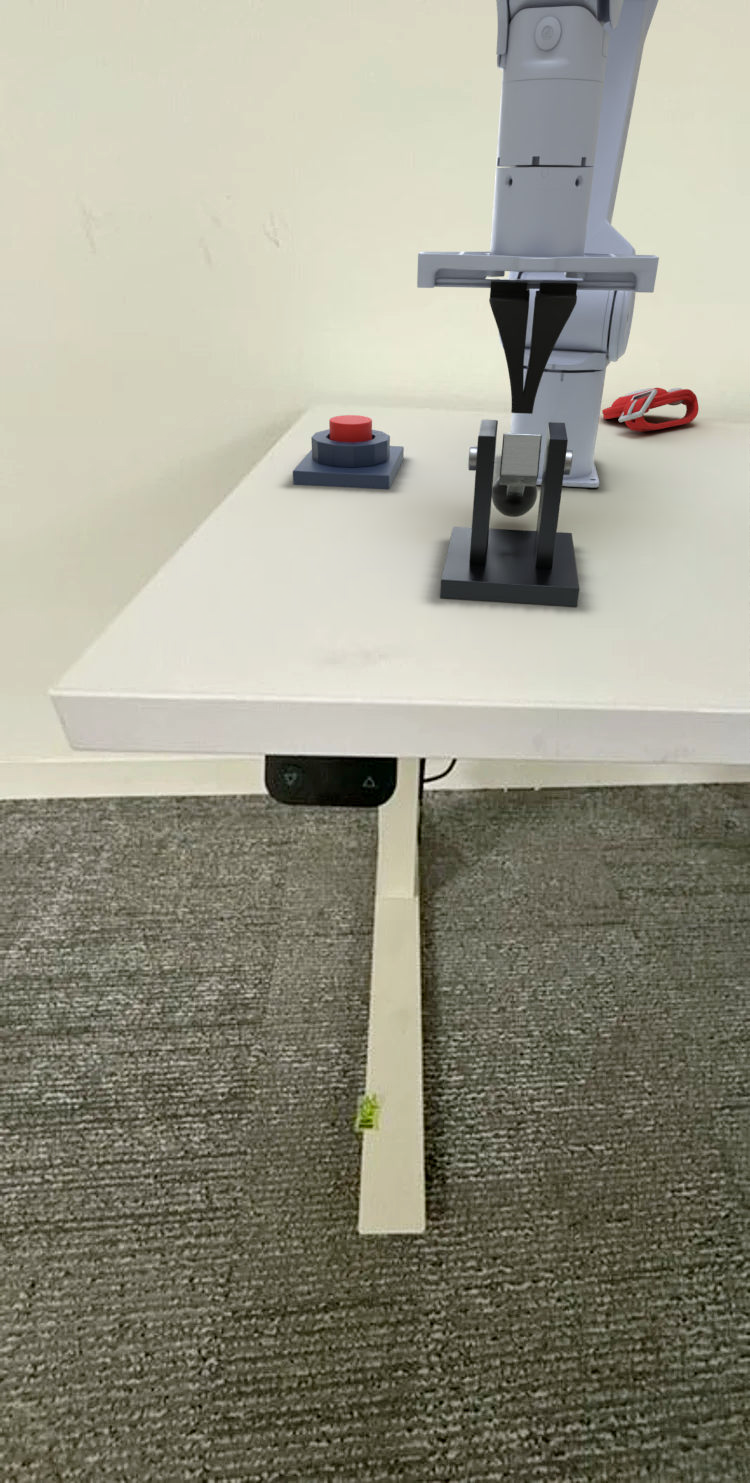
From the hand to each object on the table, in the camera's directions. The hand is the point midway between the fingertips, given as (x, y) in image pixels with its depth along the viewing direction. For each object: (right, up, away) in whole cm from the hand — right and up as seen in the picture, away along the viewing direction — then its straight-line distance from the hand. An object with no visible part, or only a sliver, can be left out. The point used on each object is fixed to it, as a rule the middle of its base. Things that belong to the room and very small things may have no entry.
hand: (521, 410), depth 58 cm
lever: (-1, -7, -2) cm, 7 cm away
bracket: (-1, -12, -3) cm, 12 cm away
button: (-12, +3, +16) cm, 20 cm away
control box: (-12, +1, +17) cm, 21 cm away
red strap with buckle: (+18, +11, +34) cm, 40 cm away
